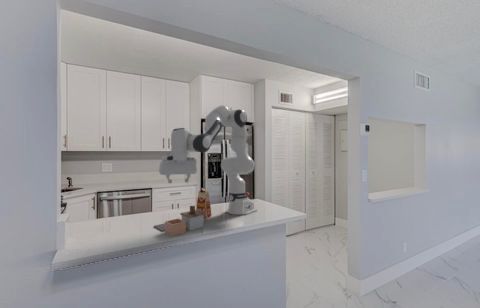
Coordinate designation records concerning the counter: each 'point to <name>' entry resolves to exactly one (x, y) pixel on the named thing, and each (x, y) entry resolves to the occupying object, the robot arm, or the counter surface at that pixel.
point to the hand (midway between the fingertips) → (178, 182)
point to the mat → (160, 227)
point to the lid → (192, 213)
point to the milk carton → (204, 204)
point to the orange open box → (175, 227)
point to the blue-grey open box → (193, 222)
